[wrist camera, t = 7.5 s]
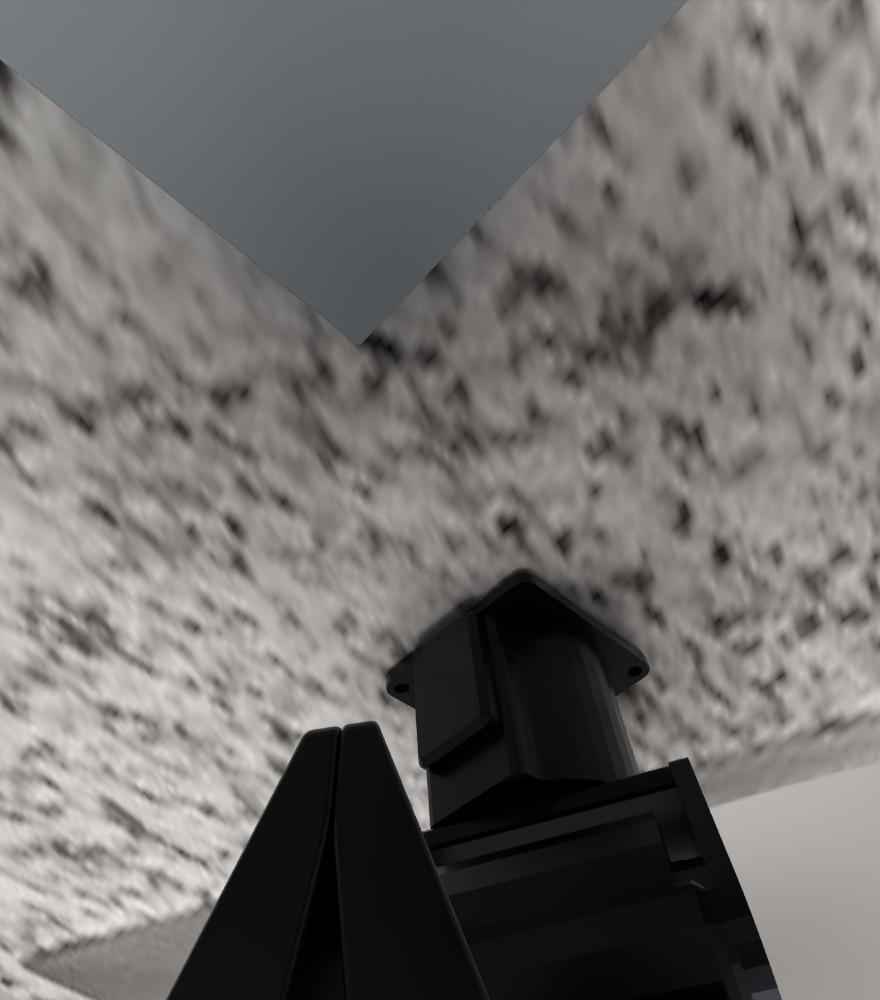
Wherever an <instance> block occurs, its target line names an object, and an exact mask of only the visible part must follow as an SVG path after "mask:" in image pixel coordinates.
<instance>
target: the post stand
mask: <svg viewBox="0 0 880 1000" xmlns="http://www.w3.org/2000/svg"><path fill="white" fill-rule="evenodd" d="M687 1H688V0H0V60H1V61H3V62H4V63H5V64H6V65H8V66H9V67H10V68H11V69H13V70H14V71H15V72H16V73H18V74H19V75H20V76H21V77H23V78H24V79H25V80H26V81H28V82H29V83H30V84H31V85H33V86H34V87H35V88H36V89H38V90H39V91H40V92H41V93H43V94H44V95H45V96H46V97H48V98H49V99H50V100H51V101H53V102H54V103H55V104H56V105H58V106H59V107H60V108H61V109H63V110H64V111H65V112H66V113H68V114H69V115H70V116H71V117H73V118H74V119H75V120H76V121H78V122H79V123H80V124H81V125H83V126H84V127H85V128H86V129H88V130H89V131H90V132H91V133H93V134H94V135H95V136H96V137H98V138H99V139H100V140H101V141H103V142H104V143H105V144H107V145H108V146H109V147H110V148H112V149H113V150H114V151H115V152H117V153H118V154H119V155H120V156H122V157H123V158H124V159H125V160H127V161H128V162H129V163H130V164H132V165H133V166H134V167H135V168H137V169H138V170H139V171H140V172H142V173H143V174H144V175H145V176H147V177H148V178H149V179H150V180H152V181H153V182H154V183H155V184H157V185H158V186H159V187H160V188H162V189H163V190H164V191H165V192H167V193H168V194H169V195H170V196H172V197H173V198H174V199H175V200H177V201H178V202H179V203H180V204H182V205H183V206H184V207H185V208H187V209H188V210H189V211H190V212H192V213H193V214H194V215H195V216H197V217H198V218H199V219H200V220H202V221H203V222H204V223H205V224H207V225H208V226H209V227H210V228H212V229H213V230H214V231H215V232H217V233H218V234H219V235H221V236H222V237H223V238H224V239H226V240H227V241H228V242H229V243H231V244H232V245H233V246H234V247H236V248H237V249H238V250H239V251H241V252H242V253H243V254H244V255H246V256H247V257H248V258H249V259H251V260H252V261H253V262H254V263H256V264H257V265H258V266H259V267H261V268H262V269H263V270H264V271H266V272H267V273H268V274H269V275H271V276H272V277H273V278H274V279H276V280H277V281H278V282H279V283H281V284H282V285H283V286H284V287H286V288H287V289H288V290H289V291H291V292H292V293H293V294H294V295H296V296H297V297H298V298H299V299H301V300H302V301H303V302H304V303H306V304H307V305H308V306H309V307H311V308H312V309H313V310H314V311H316V312H317V313H318V314H319V315H321V316H322V317H323V318H324V319H326V320H327V321H328V322H330V323H331V324H332V325H333V326H335V327H336V328H337V329H338V330H340V331H341V332H342V333H343V334H345V335H346V336H347V337H348V338H350V339H351V340H352V341H353V342H355V343H356V344H357V345H358V346H360V345H361V344H362V343H363V341H364V340H365V339H366V338H367V337H368V336H369V335H370V334H371V333H372V332H373V331H374V330H375V329H376V328H377V327H378V326H379V325H380V324H381V323H382V321H383V320H384V319H385V318H386V317H387V316H388V315H389V314H390V313H391V312H392V311H393V310H394V309H395V308H396V307H397V306H398V305H399V304H400V303H401V301H402V300H403V299H404V298H405V297H406V296H407V295H408V294H409V293H410V292H411V291H412V290H413V289H414V288H415V287H416V286H417V285H418V284H419V283H420V282H421V280H422V279H423V278H424V277H425V276H426V275H427V274H428V273H429V272H430V271H431V270H432V269H433V268H434V267H435V266H436V265H437V264H438V263H439V262H440V260H441V259H442V258H443V257H444V256H445V255H446V254H447V253H448V252H449V251H450V250H451V249H452V248H453V247H454V246H455V245H456V244H457V243H458V242H459V240H460V239H461V238H462V237H463V236H464V235H465V234H466V233H467V232H468V231H469V230H470V229H471V228H472V227H473V226H474V225H475V224H476V223H477V222H478V221H479V219H480V218H481V217H482V216H483V215H484V214H485V213H486V212H487V211H488V210H489V209H490V208H491V207H492V206H493V205H494V204H495V203H496V202H497V201H498V199H499V198H500V197H501V196H502V195H503V194H504V193H505V192H506V191H507V190H508V189H509V188H510V187H511V186H512V185H513V184H514V183H515V182H516V181H517V180H518V178H519V177H520V176H521V175H522V174H523V173H524V172H525V171H526V170H527V169H528V168H529V167H530V166H531V165H532V164H533V163H534V162H535V161H536V160H537V158H538V157H539V156H540V155H541V154H542V153H543V152H544V151H545V150H546V149H547V148H548V147H549V146H550V145H551V144H552V143H553V142H554V141H555V140H556V138H557V137H558V136H559V135H560V134H561V133H562V132H563V131H564V130H565V129H566V128H567V127H568V126H569V125H570V124H571V123H572V122H573V121H574V120H575V119H576V117H577V116H578V115H579V114H580V113H581V112H582V111H583V110H584V109H585V108H586V107H587V106H588V105H589V104H590V103H591V102H592V101H593V100H594V99H595V97H596V96H597V95H598V94H599V93H600V92H601V91H602V90H603V89H604V88H605V87H606V86H607V85H608V84H609V83H610V82H611V81H612V80H613V79H614V77H615V76H616V75H617V74H618V73H619V72H620V71H621V70H622V69H623V68H624V67H625V66H626V65H627V64H628V63H629V62H630V61H631V60H632V59H633V58H634V56H635V55H636V54H637V53H638V52H639V51H640V50H641V49H642V48H643V47H644V46H645V45H646V44H647V43H648V42H649V41H650V40H651V39H652V38H653V36H654V35H655V34H656V33H657V32H658V31H659V30H660V29H661V28H662V27H663V26H664V25H665V24H666V23H667V22H668V21H669V20H670V19H671V18H672V16H673V15H674V14H675V13H676V12H677V11H678V10H679V9H680V8H681V7H682V6H683V5H684V4H685V3H686V2H687Z"/></svg>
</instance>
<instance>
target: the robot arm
mask: <svg viewBox="0 0 880 1000" xmlns="http://www.w3.org/2000/svg"><path fill="white" fill-rule="evenodd" d="M522 588H528V589H527V590H525V591H518V590H520V589H522ZM648 672H649V665H648V662H647V659H646V657H645V656H644V655H643V654H642V653H641V652H639V651H638V650H637V649H635V648H634V647H632V646H631V645H630V644H628V643H627V642H625V641H624V640H623V639H621V638H620V637H618V636H617V635H616V634H614V633H613V632H611V631H610V630H609V629H607V628H606V627H605V626H603V625H602V624H600V623H599V622H598V621H596V620H595V619H593V618H592V617H591V616H589V615H588V614H586V613H585V612H584V611H582V610H581V609H580V608H578V607H577V606H575V605H574V604H573V603H571V602H570V601H568V600H567V599H566V598H564V597H563V596H561V595H560V594H559V593H557V592H556V591H554V590H553V589H552V588H550V587H549V586H548V585H546V584H545V583H543V582H542V581H541V580H539V579H538V578H536V577H535V576H533V575H531V574H528V573H521V574H516V575H515V576H513V577H511V578H510V579H508V580H507V581H506V582H505V583H503V584H502V585H501V586H500V587H498V588H497V589H496V590H494V591H493V592H492V593H491V594H489V595H488V596H487V597H486V598H484V599H483V600H482V601H480V602H479V603H478V604H477V605H475V606H474V607H473V608H471V609H470V610H469V611H468V612H466V613H465V614H464V615H463V616H461V617H460V618H459V619H457V620H456V621H455V622H454V623H452V624H451V625H450V626H449V627H447V628H446V629H445V630H443V631H442V632H441V633H440V634H438V635H437V636H436V637H434V638H433V639H432V640H431V641H429V642H428V643H427V644H426V645H424V646H423V647H422V648H420V649H419V650H418V651H417V652H415V653H414V654H413V655H412V656H410V657H409V658H408V659H406V660H405V661H404V662H403V663H401V664H400V665H399V666H398V667H396V668H395V669H394V670H392V671H391V672H390V673H389V674H388V675H387V678H386V689H387V692H388V693H389V694H390V695H391V696H392V697H394V698H396V699H398V700H400V701H402V702H403V703H405V704H407V705H409V706H411V707H413V708H414V709H415V710H416V726H417V742H418V759H419V765H420V767H421V768H423V769H425V770H426V771H427V785H428V799H429V814H430V828H431V829H430V830H427V831H423V832H422V831H421V828H420V826H419V823H418V821H417V818H416V816H415V814H414V811H413V809H412V806H411V804H410V801H409V799H408V796H407V794H406V791H405V789H404V786H403V784H402V781H401V779H400V777H399V774H398V772H397V769H396V767H395V764H394V762H393V759H392V757H391V754H390V752H389V749H388V747H387V744H386V742H385V739H384V737H383V735H382V732H381V730H380V727H379V725H378V723H377V722H375V721H366V722H360V723H353V724H348V725H346V726H344V727H343V729H341V728H340V727H336V726H334V727H327V728H321V729H315V730H310V731H308V732H307V733H305V734H304V736H303V737H302V739H301V741H300V743H299V745H298V746H297V748H296V750H295V752H294V754H293V756H292V758H291V760H290V762H289V764H288V766H287V768H286V770H285V772H284V773H283V775H282V777H281V779H280V781H279V783H278V785H277V787H276V789H275V791H274V793H273V795H272V797H271V798H270V800H269V802H268V804H267V806H266V808H265V810H264V812H263V814H262V816H261V818H260V820H259V822H258V824H257V825H256V827H255V829H254V831H253V833H252V835H251V837H250V839H249V841H248V843H247V845H246V847H245V849H244V851H243V852H242V854H241V856H240V858H239V860H238V862H237V864H236V866H235V868H234V870H233V872H232V874H231V876H230V877H229V879H228V881H227V883H226V885H225V887H224V889H223V891H222V893H221V895H220V897H219V899H218V901H217V903H216V904H215V906H214V908H213V910H212V912H211V914H210V916H209V918H208V920H207V922H206V924H205V926H204V928H203V929H202V931H201V933H200V935H199V937H198V939H197V941H196V943H195V945H194V947H193V949H192V951H191V953H190V955H189V956H188V958H187V960H186V962H185V964H184V966H183V968H182V970H181V972H180V974H179V976H178V978H177V980H176V982H175V983H174V985H173V987H172V989H171V991H170V993H169V995H168V997H167V999H166V1000H782V999H781V996H780V993H779V990H778V987H777V984H776V981H775V978H774V975H773V972H772V969H771V966H770V964H769V961H768V958H767V955H766V953H765V949H764V947H763V944H762V941H761V939H760V936H759V933H758V930H757V927H756V925H755V922H754V919H753V917H752V914H751V911H750V909H749V906H748V903H747V901H746V898H745V896H744V893H743V890H742V888H741V885H740V883H739V881H738V878H737V876H736V873H735V871H734V868H733V866H732V863H731V861H730V858H729V856H728V854H727V851H726V849H725V846H724V844H723V841H722V839H721V837H720V834H719V832H718V829H717V827H716V824H715V822H714V820H713V817H712V815H711V813H710V810H709V807H708V805H707V803H706V800H705V798H704V795H703V793H702V790H701V788H700V786H699V783H698V781H697V778H696V776H695V773H694V771H693V769H692V766H691V764H690V761H689V759H688V757H687V758H683V759H679V760H675V761H672V762H668V764H669V766H667V767H663V768H659V769H656V770H652V771H648V772H644V773H641V774H640V773H639V770H638V767H637V763H636V760H635V757H634V754H633V751H632V748H631V744H630V741H629V738H628V735H627V732H626V729H625V725H624V722H623V719H622V716H621V713H620V710H619V706H618V703H617V700H616V697H615V696H617V695H618V694H620V693H621V692H623V691H624V690H626V689H627V688H629V687H630V686H632V685H633V684H635V683H636V682H638V681H639V680H641V679H643V678H644V677H645V676H646V675H647V674H648ZM399 683H404V684H399Z"/></svg>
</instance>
